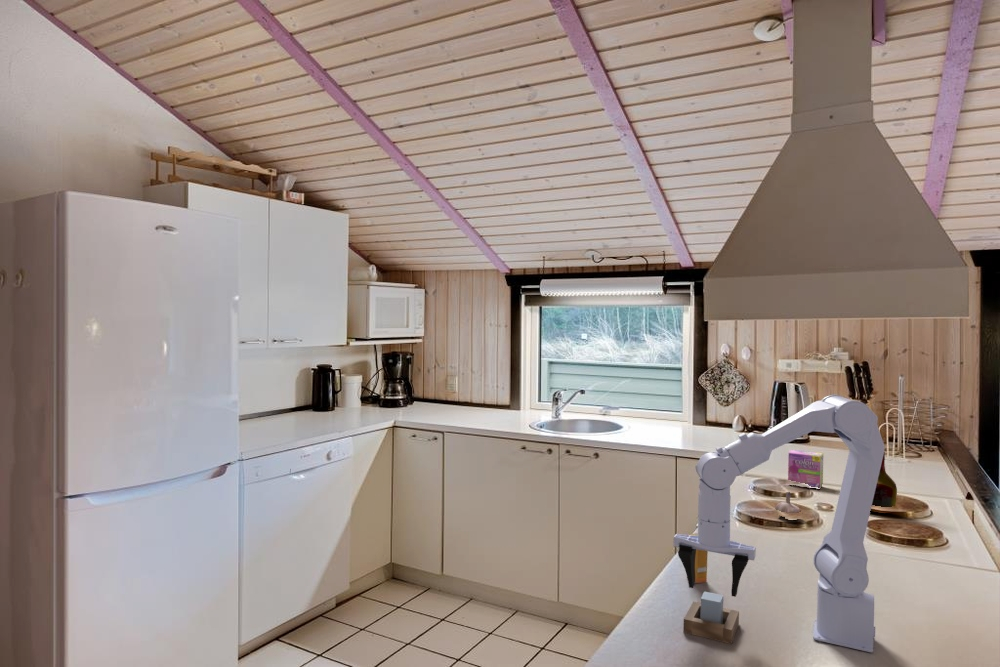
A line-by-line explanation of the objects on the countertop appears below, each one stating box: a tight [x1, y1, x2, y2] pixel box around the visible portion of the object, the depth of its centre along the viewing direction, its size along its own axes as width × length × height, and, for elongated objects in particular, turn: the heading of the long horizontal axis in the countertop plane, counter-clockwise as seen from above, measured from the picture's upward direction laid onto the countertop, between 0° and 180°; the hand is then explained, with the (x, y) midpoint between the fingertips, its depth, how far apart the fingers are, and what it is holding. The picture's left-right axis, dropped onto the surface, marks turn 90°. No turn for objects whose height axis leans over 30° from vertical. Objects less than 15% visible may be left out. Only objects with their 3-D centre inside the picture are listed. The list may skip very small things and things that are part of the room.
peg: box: [700, 591, 724, 624], centre depth 122 cm, size 4×4×6 cm
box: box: [787, 449, 824, 489], centre depth 226 cm, size 10×6×12 cm, turn 55°
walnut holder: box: [682, 601, 740, 644], centre depth 122 cm, size 8×8×2 cm
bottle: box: [872, 451, 898, 507], centre depth 197 cm, size 12×6×20 cm, turn 50°
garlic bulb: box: [774, 491, 802, 513], centre depth 189 cm, size 8×7×8 cm
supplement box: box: [686, 532, 709, 584], centre depth 144 cm, size 3×3×10 cm
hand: (712, 590), depth 122 cm, fingers open, 7 cm apart
